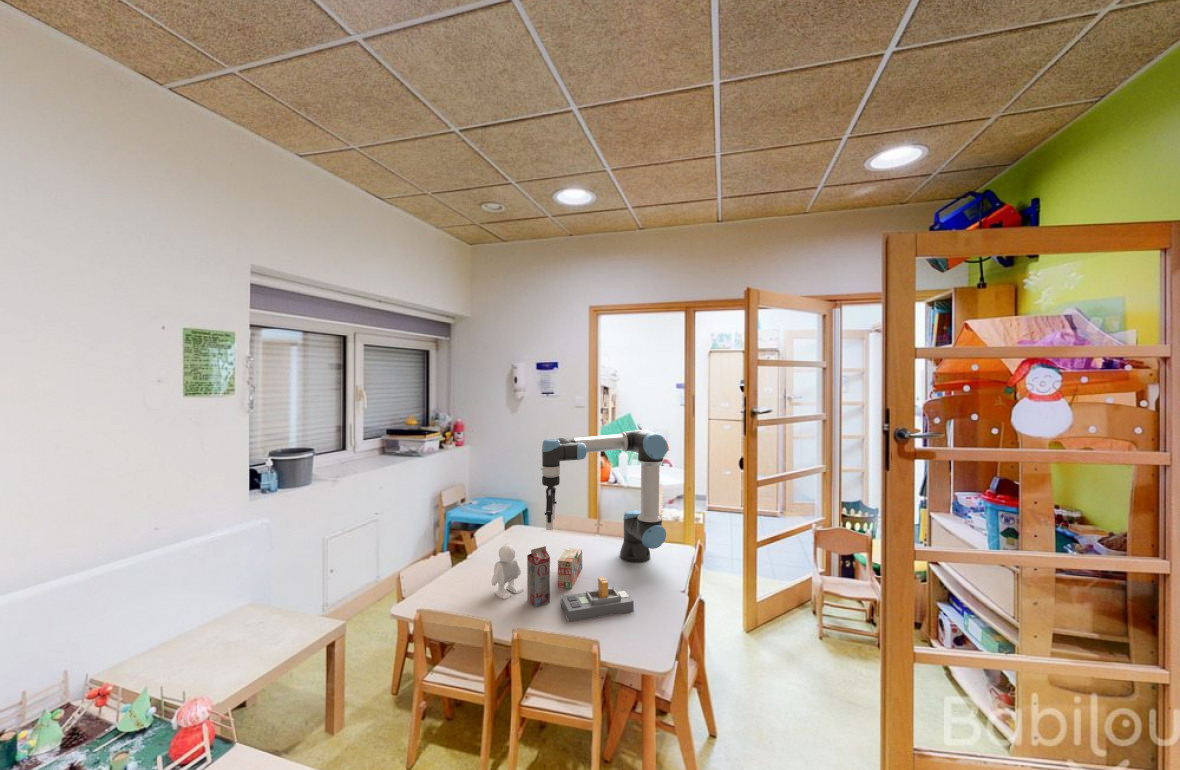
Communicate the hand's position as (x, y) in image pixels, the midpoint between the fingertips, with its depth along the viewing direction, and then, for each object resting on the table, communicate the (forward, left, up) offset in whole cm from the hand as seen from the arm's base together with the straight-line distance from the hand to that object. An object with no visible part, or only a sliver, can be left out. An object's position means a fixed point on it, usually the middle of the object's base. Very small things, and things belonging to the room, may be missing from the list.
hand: (550, 524), depth 197 cm
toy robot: (+19, 0, -27) cm, 33 cm away
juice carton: (+8, +12, -27) cm, 31 cm away
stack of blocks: (-10, -5, -27) cm, 30 cm away
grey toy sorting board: (-13, +24, -27) cm, 38 cm away
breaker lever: (-16, +24, -23) cm, 37 cm away
